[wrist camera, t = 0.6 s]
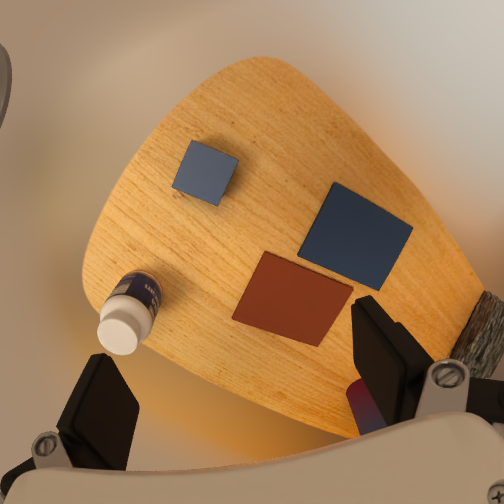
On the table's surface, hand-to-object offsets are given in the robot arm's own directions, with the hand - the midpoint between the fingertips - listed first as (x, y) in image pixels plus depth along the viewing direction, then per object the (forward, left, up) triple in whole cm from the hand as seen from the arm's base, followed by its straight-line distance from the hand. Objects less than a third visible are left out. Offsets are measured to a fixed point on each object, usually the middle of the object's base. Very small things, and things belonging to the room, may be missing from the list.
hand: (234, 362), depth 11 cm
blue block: (-4, +4, -23) cm, 23 cm away
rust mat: (+11, -6, -23) cm, 26 cm away
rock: (+46, +7, -16) cm, 50 cm away
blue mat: (+15, +4, -23) cm, 27 cm away
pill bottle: (-6, -12, -23) cm, 26 cm away
